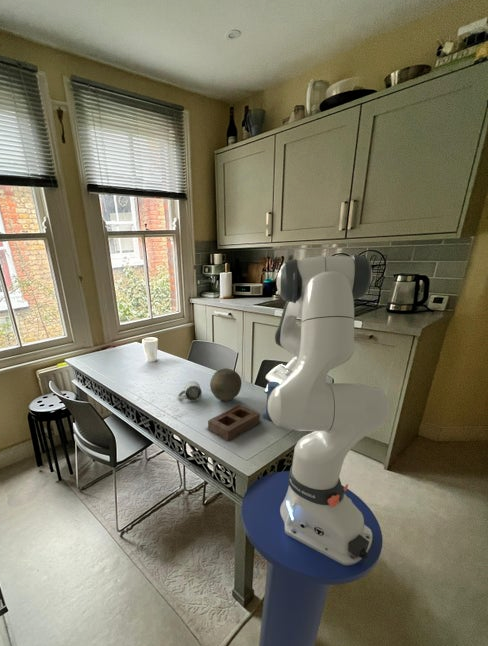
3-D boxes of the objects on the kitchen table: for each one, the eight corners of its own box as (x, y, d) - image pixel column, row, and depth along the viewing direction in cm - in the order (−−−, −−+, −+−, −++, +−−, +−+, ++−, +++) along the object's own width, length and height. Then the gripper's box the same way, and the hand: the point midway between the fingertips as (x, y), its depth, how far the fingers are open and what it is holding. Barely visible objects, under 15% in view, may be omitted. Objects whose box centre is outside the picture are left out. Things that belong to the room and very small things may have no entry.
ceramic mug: (199, 392, 151) (199, 378, 148) (202, 400, 144) (201, 385, 140) (177, 394, 150) (176, 380, 147) (179, 402, 143) (177, 387, 140)
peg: (278, 417, 129) (282, 383, 122) (272, 421, 126) (275, 387, 120) (269, 413, 132) (272, 380, 125) (262, 417, 129) (265, 383, 123)
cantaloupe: (205, 395, 148) (205, 366, 142) (234, 391, 151) (234, 362, 145) (215, 410, 136) (215, 378, 129) (246, 405, 139) (247, 373, 132)
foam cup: (162, 359, 195) (160, 338, 189) (151, 363, 188) (150, 342, 183) (151, 356, 200) (149, 336, 195) (140, 360, 194) (138, 340, 189)
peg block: (259, 422, 126) (260, 413, 124) (227, 440, 115) (227, 431, 113) (239, 412, 133) (239, 404, 131) (208, 429, 122) (208, 420, 121)
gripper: (276, 358, 131) (254, 383, 133) (308, 376, 113) (282, 405, 115) (284, 366, 134) (262, 391, 136) (316, 385, 116) (291, 413, 118)
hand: (271, 397), depth 125 cm, fingers open, 8 cm apart
